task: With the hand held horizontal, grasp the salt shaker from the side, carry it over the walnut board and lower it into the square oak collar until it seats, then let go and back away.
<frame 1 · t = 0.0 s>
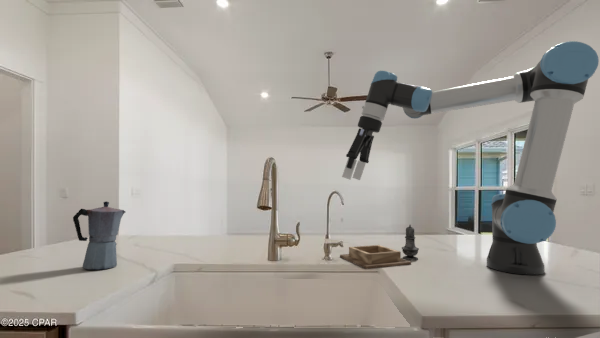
hand: (351, 178, 110), 28 cm above the worktop, tool tilted 20°, fingers open, 13 cm apart
moka pot: (99, 268, 99), on the worktop
holder: (374, 260, 111), on the worktop
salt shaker: (410, 259, 115), on the worktop
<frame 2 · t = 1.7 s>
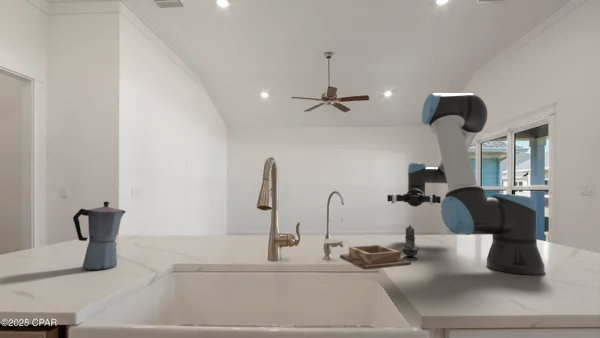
hand: (411, 200, 124), 20 cm above the worktop, tool horizontal, fingers open, 13 cm apart
nothing on the worktop moved.
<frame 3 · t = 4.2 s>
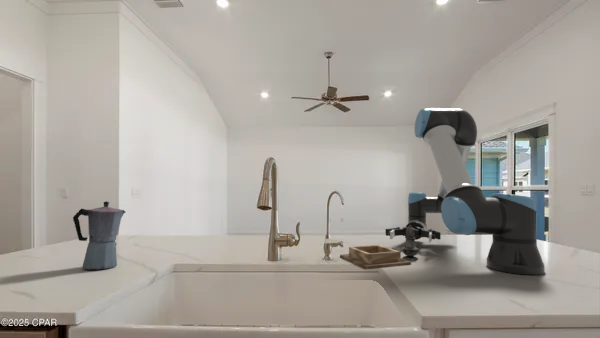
hand: (410, 236, 119), 7 cm above the worktop, tool horizontal, fingers open, 13 cm apart
nothing on the worktop moved.
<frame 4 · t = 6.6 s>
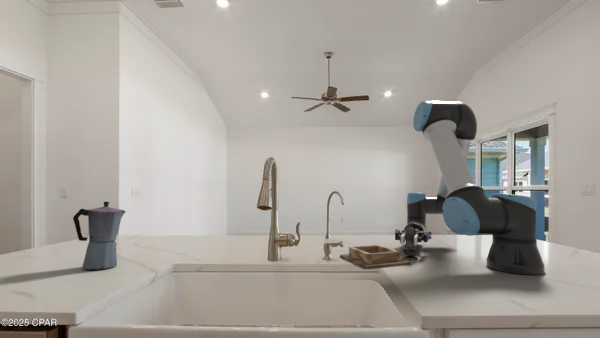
hand: (408, 240, 110), 7 cm above the worktop, tool horizontal, fingers closed on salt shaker, 4 cm apart
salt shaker: (410, 259, 115), on the worktop, touching gripper
everything else where it was.
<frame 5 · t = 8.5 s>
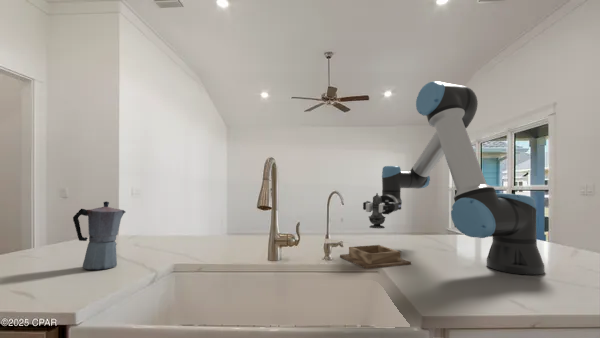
hand: (373, 208, 108), 18 cm above the worktop, tool horizontal, fingers closed on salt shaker, 4 cm apart
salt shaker: (377, 227, 113), point 11 cm above the worktop, touching gripper
everything else where it was.
when the fingers open (9 cm above the worktop, at t = 10.5 s): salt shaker drops 1 cm, resting on holder.
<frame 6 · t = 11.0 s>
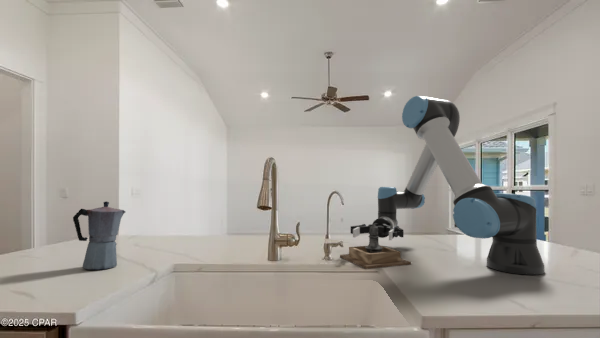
hand: (371, 234, 108), 9 cm above the worktop, tool horizontal, fingers open, 11 cm apart
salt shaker: (374, 258, 111), point 1 cm above the worktop, touching holder
everything else where it was.
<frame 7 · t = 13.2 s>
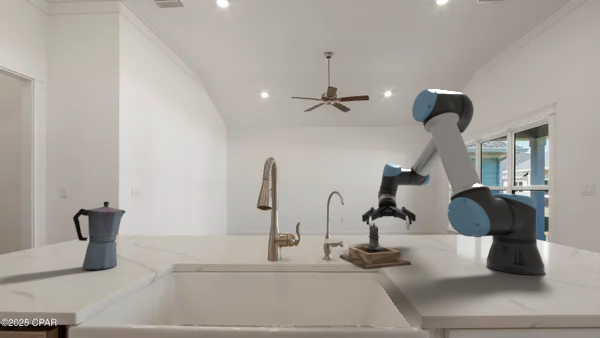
hand: (389, 226, 120), 10 cm above the worktop, tool tilted 70°, fingers open, 13 cm apart
nothing on the worktop moved.
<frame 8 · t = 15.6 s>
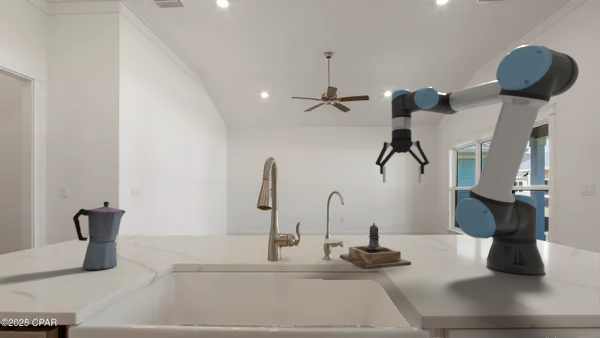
hand: (401, 182, 129), 27 cm above the worktop, tool pointing down, fingers open, 13 cm apart
nothing on the worktop moved.
at the end: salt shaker 0.0 cm off-centre on the holder, point 0.6 cm above the holder's base; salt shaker tilted 0°; the gripper is holding nothing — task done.
